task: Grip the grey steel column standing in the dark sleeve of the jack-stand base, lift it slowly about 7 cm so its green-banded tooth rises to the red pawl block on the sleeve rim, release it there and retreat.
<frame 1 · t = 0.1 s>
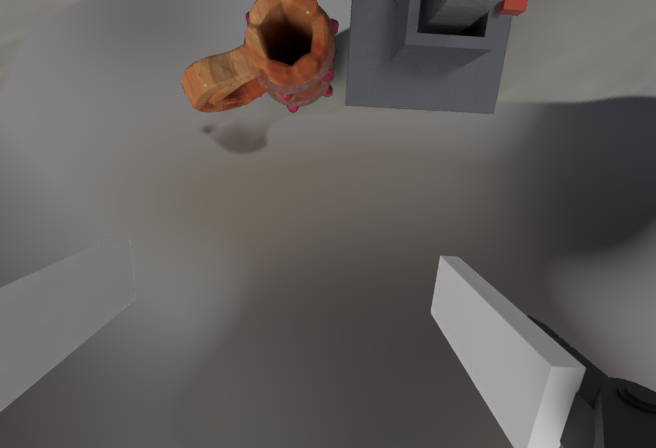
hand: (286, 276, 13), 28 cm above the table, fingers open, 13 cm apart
stand base: (427, 27, 35), on the table
mug: (280, 84, 37), on the table
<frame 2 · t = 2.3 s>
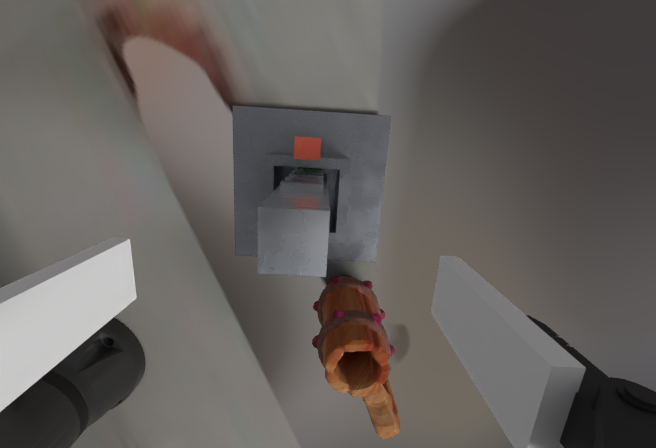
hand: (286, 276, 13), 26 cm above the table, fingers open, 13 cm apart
column: (303, 203, 27), point 11 cm above the table, slide at 0.0 cm
stand base: (309, 188, 38), on the table
mug: (353, 311, 43), on the table
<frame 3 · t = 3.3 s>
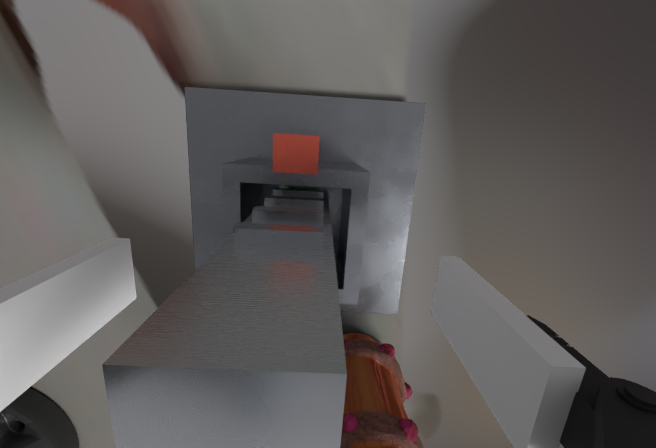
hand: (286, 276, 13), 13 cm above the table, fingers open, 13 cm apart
column: (288, 252, 15), point 11 cm above the table, slide at 0.0 cm
stand base: (302, 209, 26), on the table
mug: (365, 376, 31), on the table
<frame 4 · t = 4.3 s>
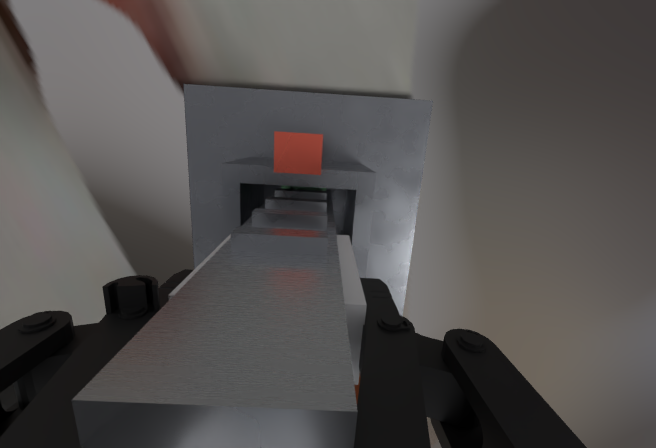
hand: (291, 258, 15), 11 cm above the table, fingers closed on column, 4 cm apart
column: (290, 257, 14), point 11 cm above the table, slide at 0.0 cm, touching gripper
stand base: (305, 210, 25), on the table
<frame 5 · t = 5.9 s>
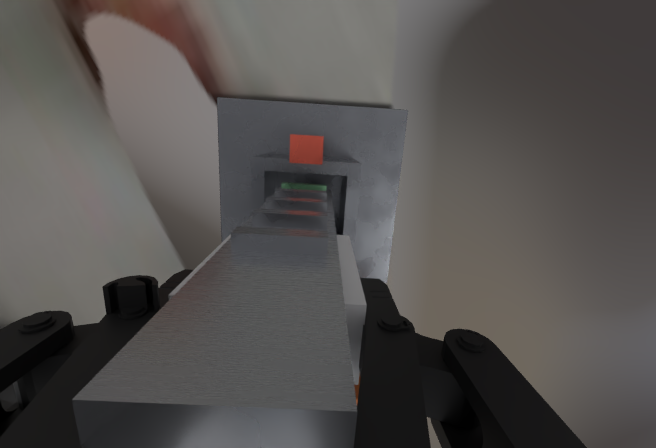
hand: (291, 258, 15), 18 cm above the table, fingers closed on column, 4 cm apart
column: (290, 257, 14), point 18 cm above the table, slide at 6.9 cm, touching gripper
stand base: (309, 196, 32), on the table
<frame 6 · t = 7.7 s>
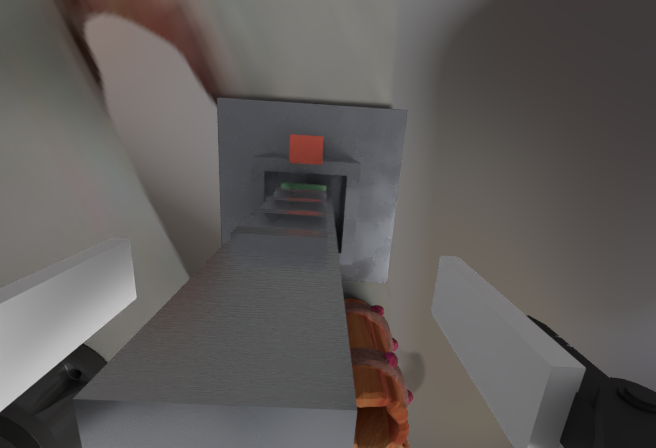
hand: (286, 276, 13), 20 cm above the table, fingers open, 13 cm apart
column: (290, 257, 14), point 18 cm above the table, slide at 7.0 cm
stand base: (309, 196, 32), on the table
mug: (360, 337, 37), on the table
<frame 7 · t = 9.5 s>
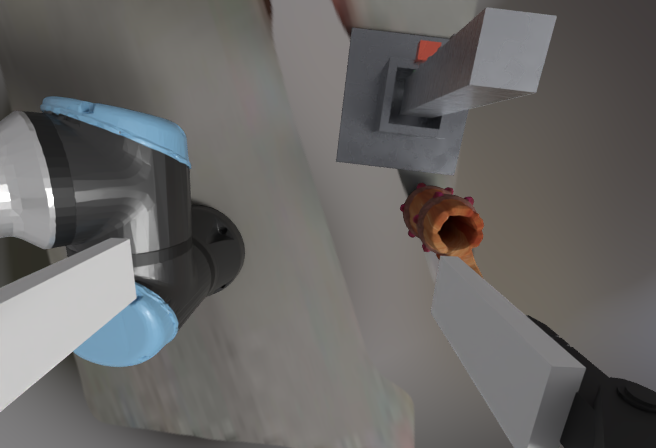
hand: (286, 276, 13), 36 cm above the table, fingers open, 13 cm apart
column: (449, 79, 27), point 18 cm above the table, slide at 7.0 cm
stand base: (404, 106, 45), on the table
mug: (428, 222, 49), on the table
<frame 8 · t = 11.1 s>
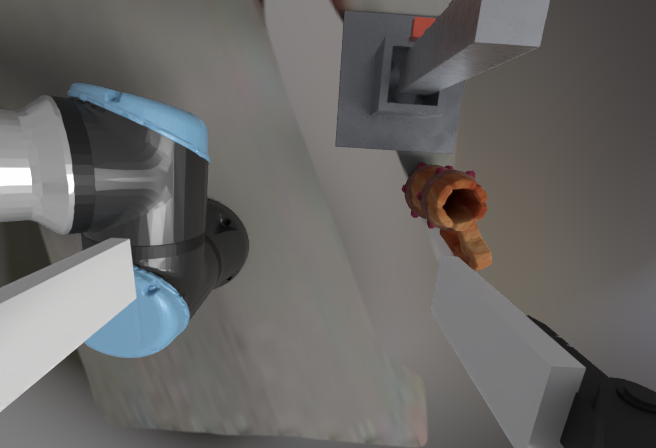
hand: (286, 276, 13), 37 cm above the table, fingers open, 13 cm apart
column: (448, 49, 27), point 18 cm above the table, slide at 7.0 cm
stand base: (400, 87, 45), on the table
mug: (429, 202, 50), on the table
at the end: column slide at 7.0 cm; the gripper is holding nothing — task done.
